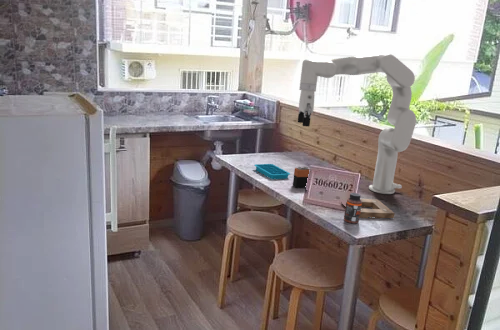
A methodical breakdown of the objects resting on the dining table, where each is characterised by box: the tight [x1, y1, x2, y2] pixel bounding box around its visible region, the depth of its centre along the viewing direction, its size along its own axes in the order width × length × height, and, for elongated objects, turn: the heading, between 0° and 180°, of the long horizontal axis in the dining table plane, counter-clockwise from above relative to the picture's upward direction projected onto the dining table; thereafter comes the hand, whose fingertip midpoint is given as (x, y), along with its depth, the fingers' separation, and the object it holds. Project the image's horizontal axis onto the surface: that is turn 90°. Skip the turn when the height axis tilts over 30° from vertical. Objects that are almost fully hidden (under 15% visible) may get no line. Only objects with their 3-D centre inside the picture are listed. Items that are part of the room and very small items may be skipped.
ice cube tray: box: [254, 163, 291, 180], centre depth 233 cm, size 12×20×3 cm, turn 27°
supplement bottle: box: [343, 192, 362, 224], centre depth 174 cm, size 6×6×11 cm
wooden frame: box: [359, 198, 395, 219], centre depth 189 cm, size 17×17×3 cm
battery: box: [292, 166, 310, 189], centre depth 214 cm, size 4×7×10 cm, turn 110°
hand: (303, 124), depth 206 cm, fingers open, 9 cm apart
